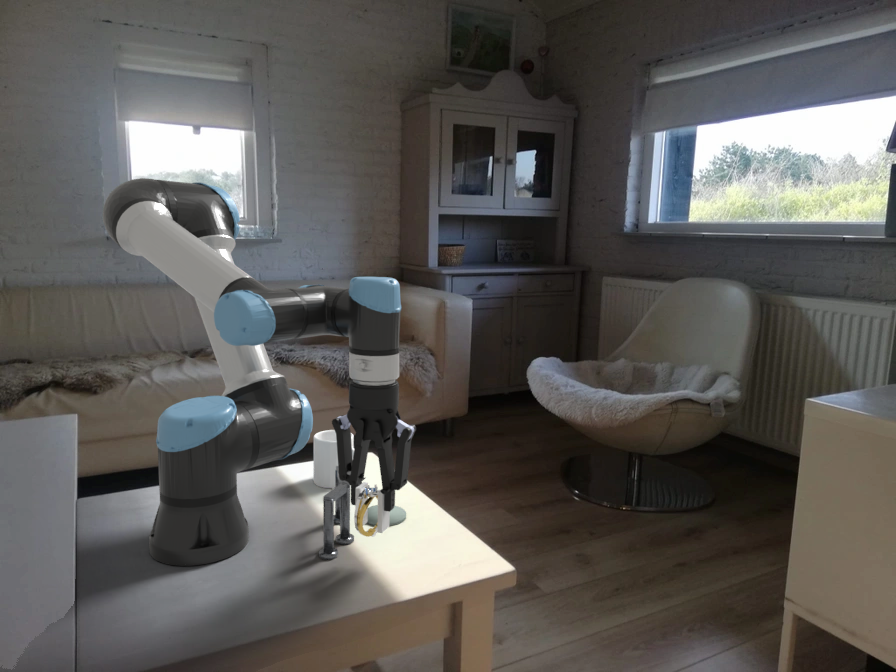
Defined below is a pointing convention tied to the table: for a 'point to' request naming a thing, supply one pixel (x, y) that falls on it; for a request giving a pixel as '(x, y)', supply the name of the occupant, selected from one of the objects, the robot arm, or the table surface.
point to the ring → (361, 511)
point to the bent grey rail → (336, 518)
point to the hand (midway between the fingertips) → (372, 526)
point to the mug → (326, 458)
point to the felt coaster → (395, 515)
